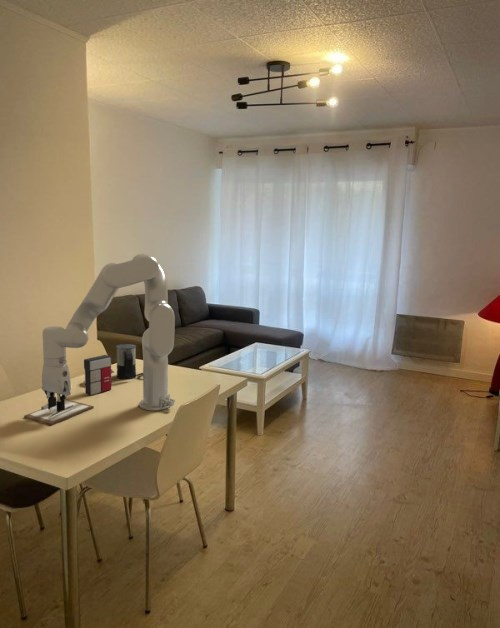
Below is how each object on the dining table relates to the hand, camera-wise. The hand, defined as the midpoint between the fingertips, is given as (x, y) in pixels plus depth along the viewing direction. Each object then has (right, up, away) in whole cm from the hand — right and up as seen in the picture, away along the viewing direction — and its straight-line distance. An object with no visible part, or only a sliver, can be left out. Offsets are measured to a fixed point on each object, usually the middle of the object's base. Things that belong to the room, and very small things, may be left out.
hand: (56, 409), depth 175 cm
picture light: (0, -1, 0) cm, 1 cm away
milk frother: (+16, +5, +52) cm, 55 cm away
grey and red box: (+6, +1, +28) cm, 29 cm away
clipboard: (0, -2, +4) cm, 5 cm away
